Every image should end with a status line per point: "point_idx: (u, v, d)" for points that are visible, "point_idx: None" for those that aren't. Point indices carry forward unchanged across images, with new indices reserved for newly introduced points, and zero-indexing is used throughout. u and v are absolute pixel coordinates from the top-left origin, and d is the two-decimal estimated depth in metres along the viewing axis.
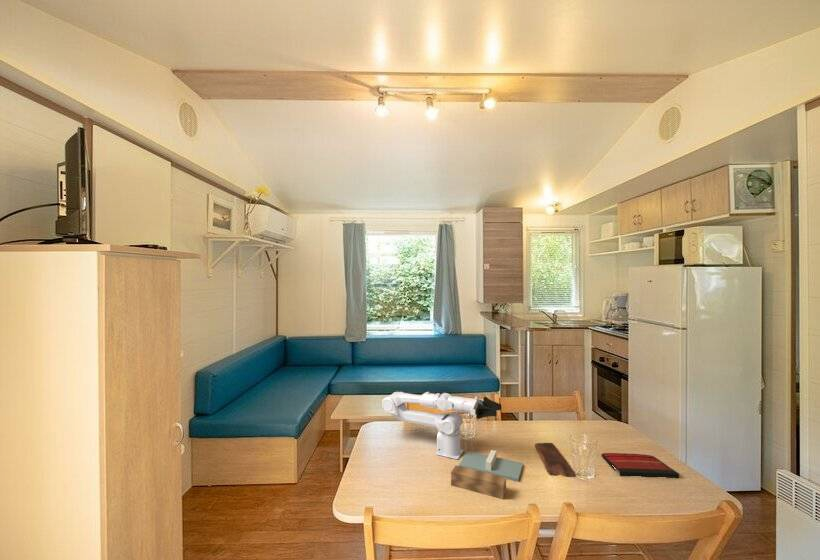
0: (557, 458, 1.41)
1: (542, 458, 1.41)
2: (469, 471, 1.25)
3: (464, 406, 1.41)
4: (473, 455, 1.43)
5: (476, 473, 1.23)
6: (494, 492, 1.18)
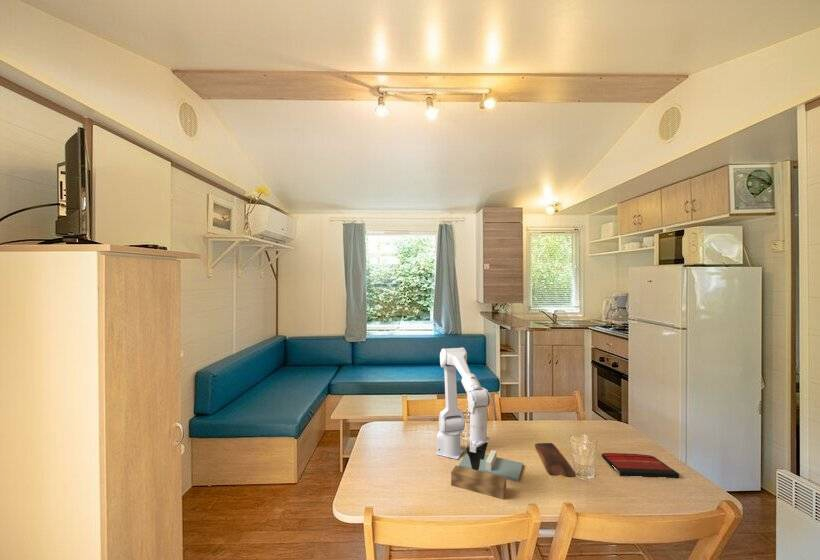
0: (557, 458, 1.41)
1: (542, 458, 1.41)
2: (469, 471, 1.25)
3: (477, 429, 1.20)
4: None
5: (476, 473, 1.23)
6: (495, 492, 1.18)
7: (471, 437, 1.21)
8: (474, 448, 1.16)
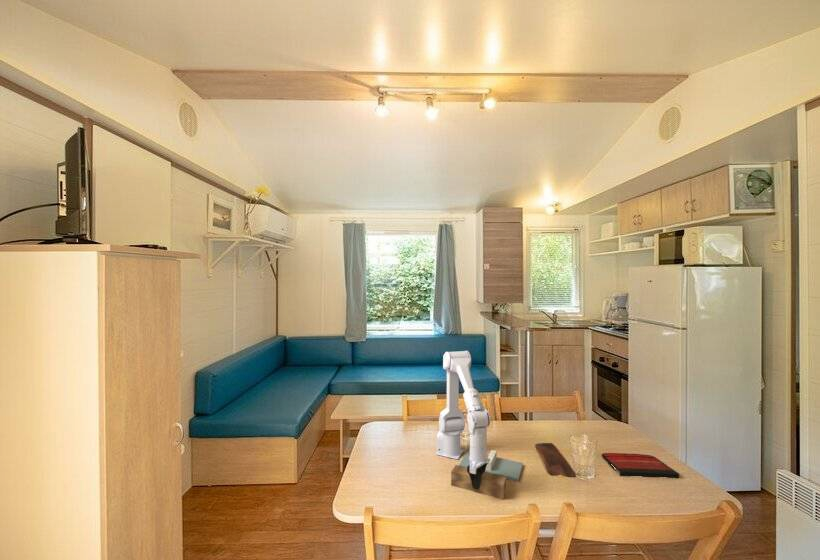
0: (557, 458, 1.41)
1: (542, 458, 1.41)
2: None
3: (477, 450, 1.20)
4: None
5: None
6: (495, 491, 1.18)
7: (471, 457, 1.21)
8: (474, 469, 1.16)
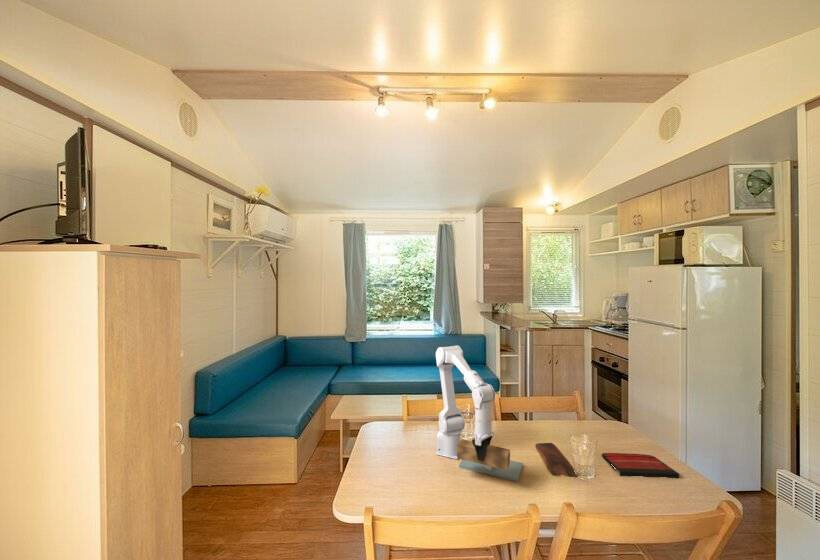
0: (558, 458, 1.41)
1: (544, 458, 1.41)
2: None
3: (482, 423, 1.25)
4: None
5: None
6: (499, 462, 1.23)
7: (476, 431, 1.26)
8: (479, 441, 1.21)
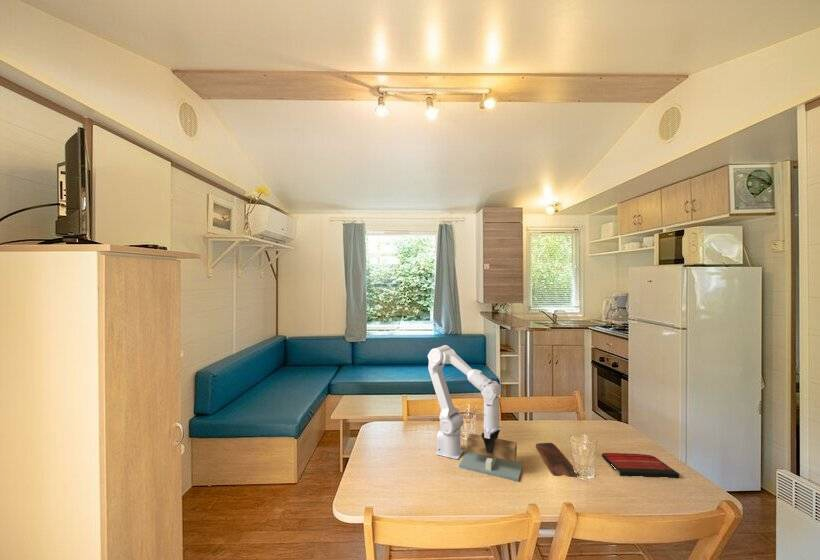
0: (559, 458, 1.41)
1: (544, 458, 1.41)
2: None
3: (490, 418, 1.34)
4: (473, 455, 1.43)
5: None
6: (507, 454, 1.32)
7: (485, 425, 1.35)
8: (488, 434, 1.30)
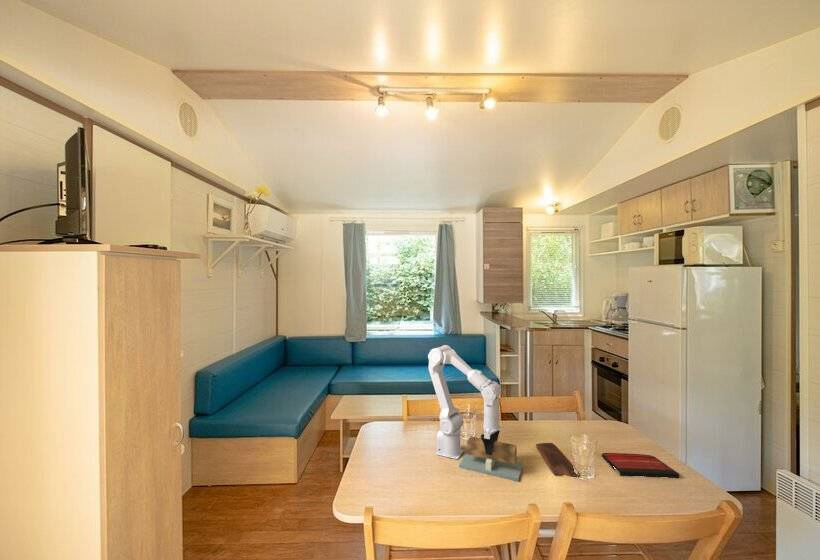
0: (559, 458, 1.41)
1: (545, 458, 1.41)
2: None
3: (490, 419, 1.34)
4: None
5: None
6: (507, 457, 1.32)
7: (485, 426, 1.35)
8: (488, 435, 1.30)
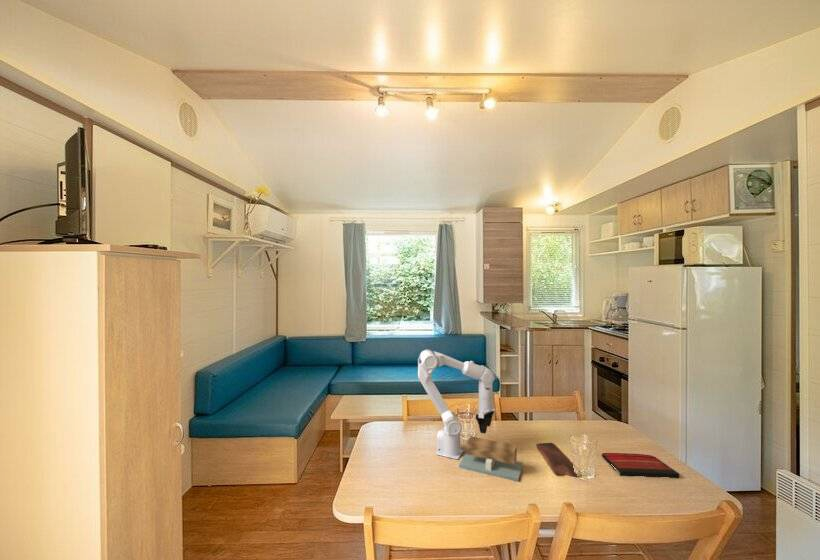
0: (560, 458, 1.41)
1: (546, 459, 1.41)
2: (483, 440, 1.39)
3: (484, 400, 1.45)
4: None
5: (489, 442, 1.37)
6: (507, 457, 1.32)
7: (479, 407, 1.47)
8: (482, 414, 1.41)
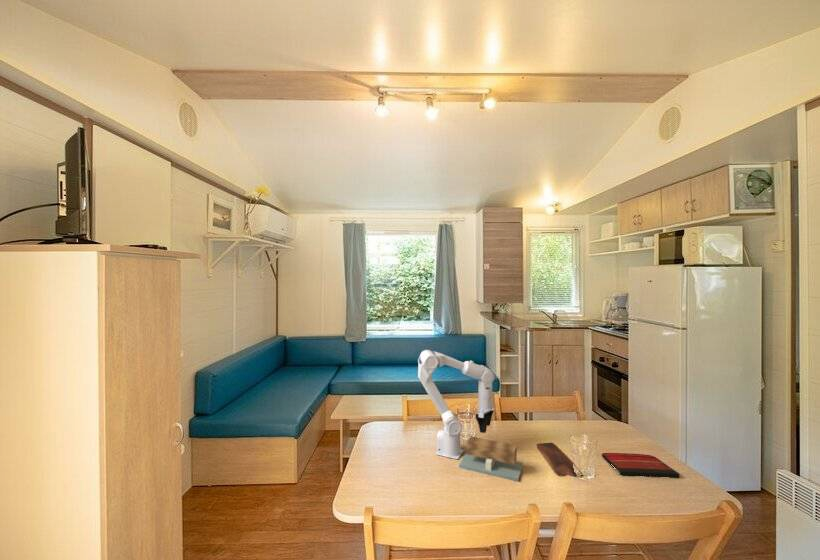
0: (561, 458, 1.41)
1: (547, 459, 1.41)
2: (483, 440, 1.39)
3: (484, 400, 1.46)
4: None
5: (489, 442, 1.37)
6: (507, 457, 1.32)
7: (479, 406, 1.47)
8: (482, 414, 1.42)
